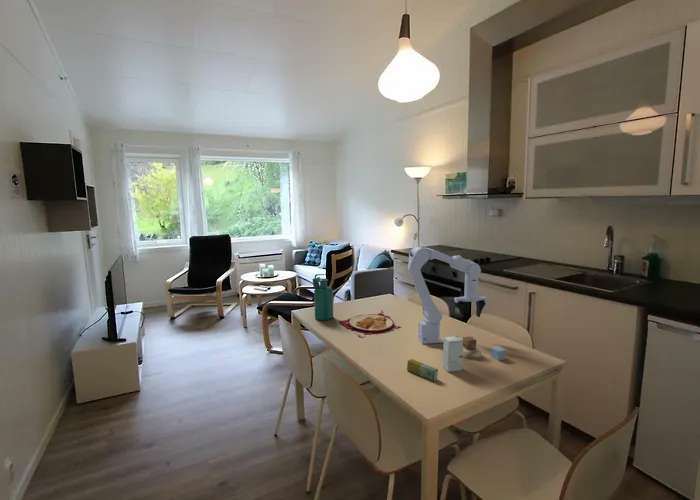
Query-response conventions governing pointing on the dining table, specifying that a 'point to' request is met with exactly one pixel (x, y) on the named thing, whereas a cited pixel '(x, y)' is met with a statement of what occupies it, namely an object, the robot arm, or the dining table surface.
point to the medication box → (422, 370)
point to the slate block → (498, 353)
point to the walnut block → (469, 343)
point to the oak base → (471, 353)
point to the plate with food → (370, 323)
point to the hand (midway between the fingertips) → (470, 316)
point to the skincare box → (452, 353)
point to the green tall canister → (323, 299)
